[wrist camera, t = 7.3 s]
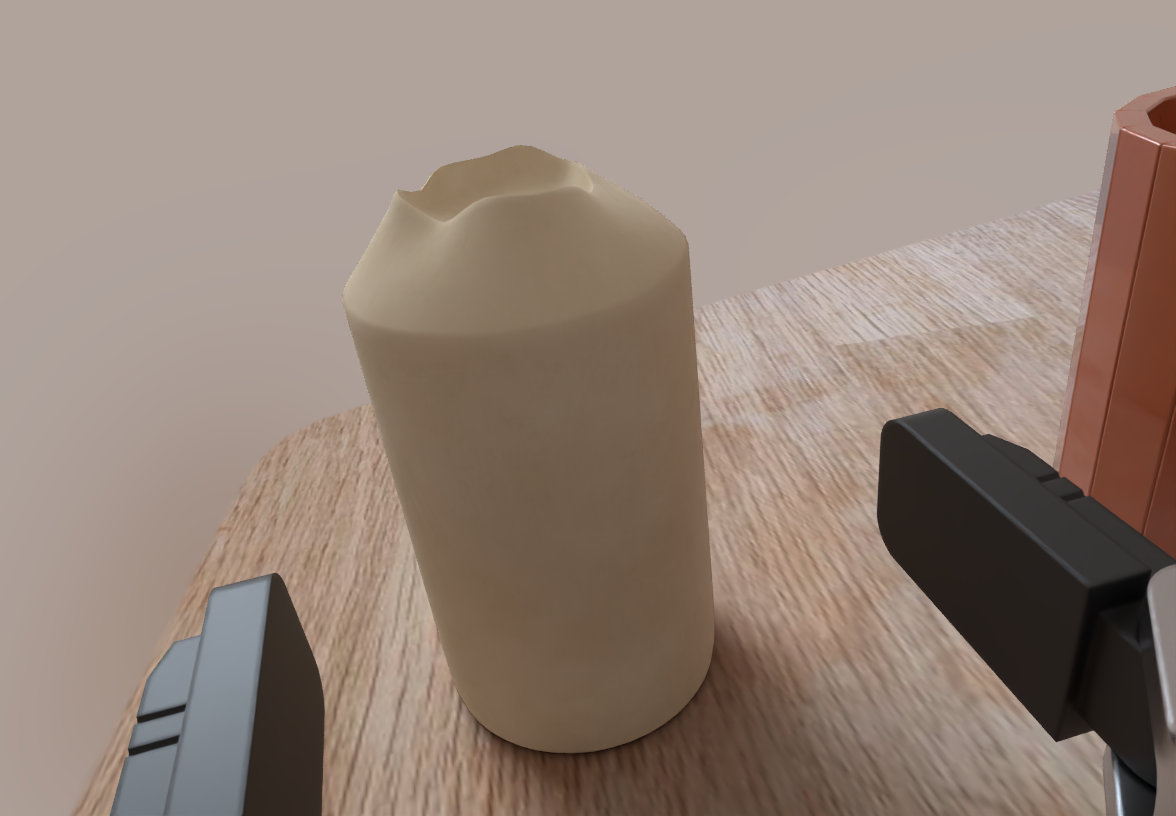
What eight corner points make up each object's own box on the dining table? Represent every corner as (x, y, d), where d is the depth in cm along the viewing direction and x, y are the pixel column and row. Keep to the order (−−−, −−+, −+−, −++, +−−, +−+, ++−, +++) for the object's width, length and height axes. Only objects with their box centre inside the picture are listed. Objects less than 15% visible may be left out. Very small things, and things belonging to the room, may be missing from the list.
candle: (757, 714, 16) (736, 180, 11) (463, 792, 15) (299, 261, 10) (671, 536, 21) (629, 106, 16) (444, 590, 20) (325, 160, 15)
